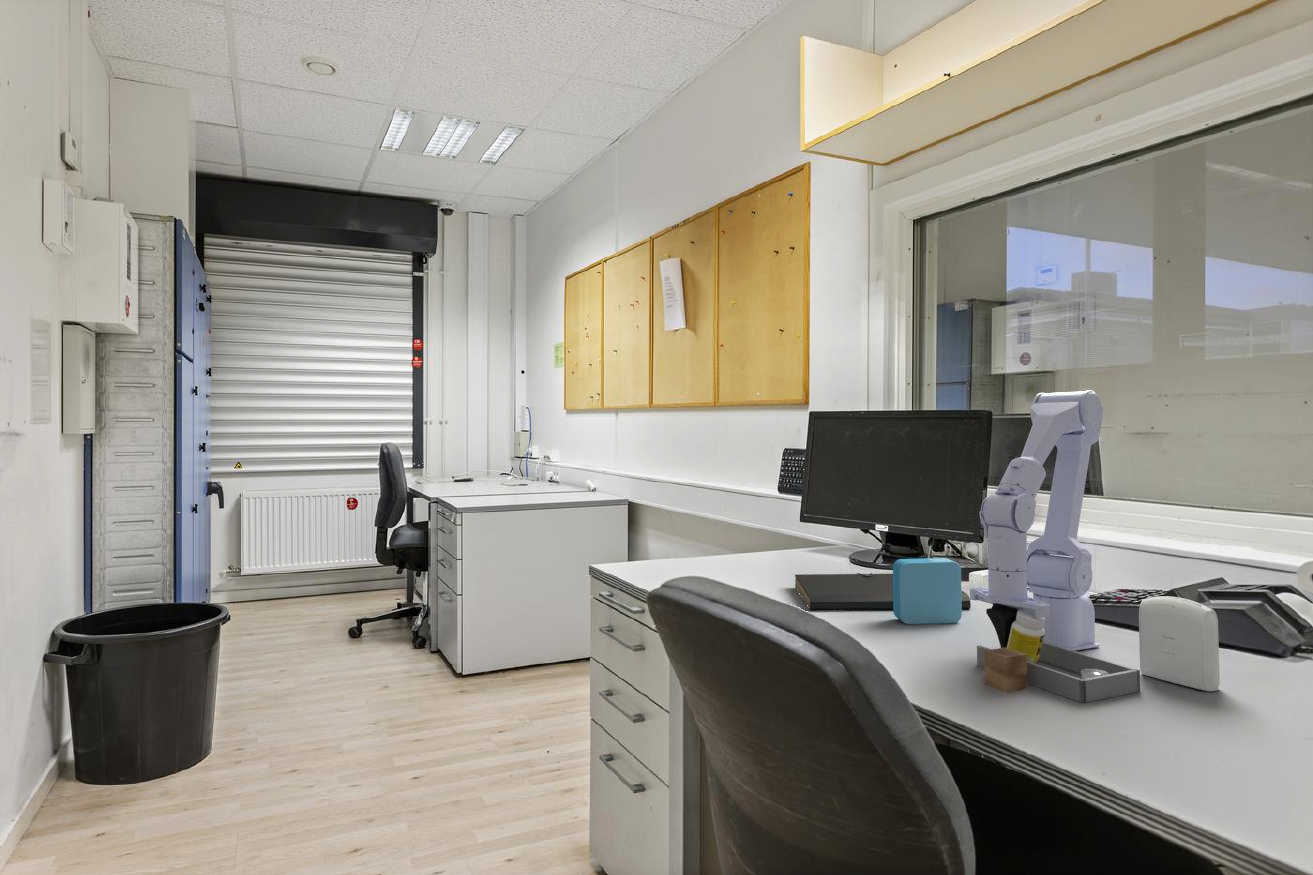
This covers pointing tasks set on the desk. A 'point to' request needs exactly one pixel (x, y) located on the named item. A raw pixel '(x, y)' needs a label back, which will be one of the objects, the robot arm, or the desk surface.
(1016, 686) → the walnut block
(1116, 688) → the bay
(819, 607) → the file folder
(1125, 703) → the desk surface
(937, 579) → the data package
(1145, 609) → the photo printer
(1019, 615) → the supplement bottle
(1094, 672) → the metal cylinder
